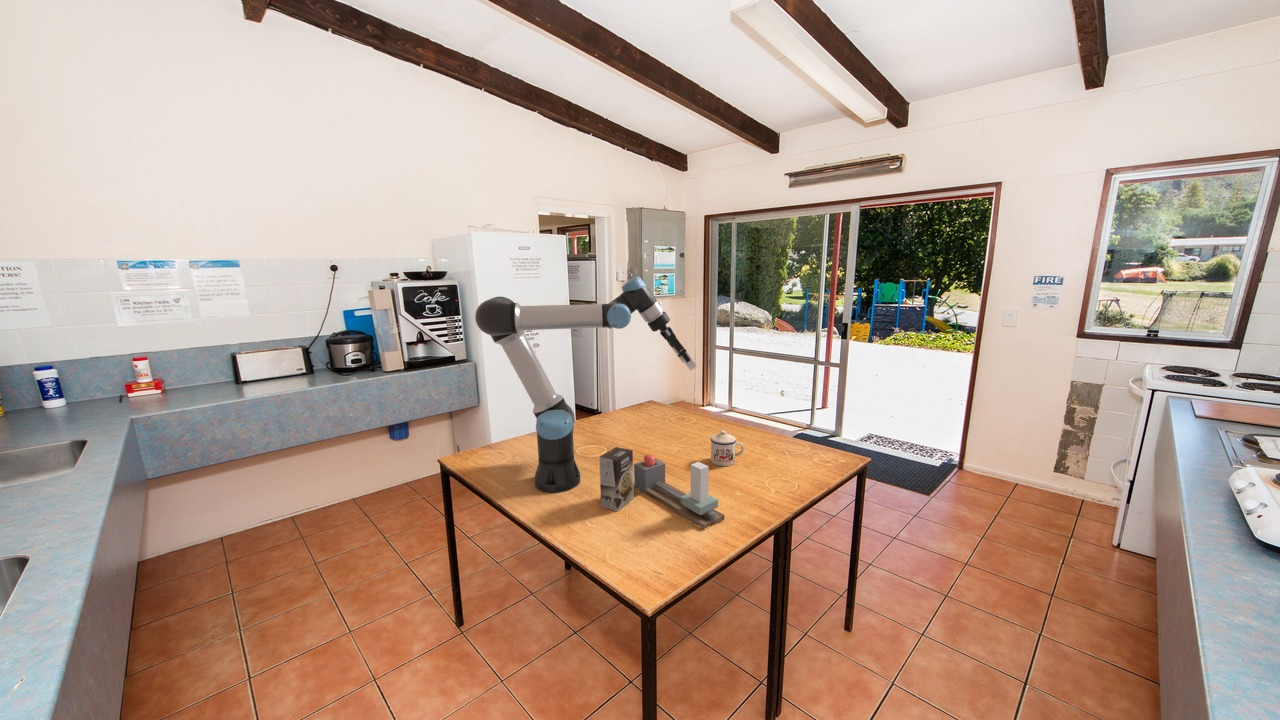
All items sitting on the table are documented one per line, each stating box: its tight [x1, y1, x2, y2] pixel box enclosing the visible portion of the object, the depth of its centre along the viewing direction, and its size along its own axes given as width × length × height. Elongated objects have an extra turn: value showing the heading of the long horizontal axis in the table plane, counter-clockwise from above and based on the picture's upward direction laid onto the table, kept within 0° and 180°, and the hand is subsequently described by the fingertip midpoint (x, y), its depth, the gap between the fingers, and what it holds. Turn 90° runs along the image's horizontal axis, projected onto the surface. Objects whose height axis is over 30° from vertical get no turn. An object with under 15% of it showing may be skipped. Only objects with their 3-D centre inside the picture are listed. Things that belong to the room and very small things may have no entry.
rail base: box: [645, 481, 725, 530], centre depth 139 cm, size 8×26×3 cm, turn 37°
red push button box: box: [633, 458, 666, 495], centre depth 151 cm, size 8×6×8 cm
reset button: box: [643, 453, 656, 468], centre depth 150 cm, size 3×3×5 cm
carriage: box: [681, 461, 719, 515], centre depth 132 cm, size 7×8×12 cm
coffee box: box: [599, 446, 634, 512], centre depth 140 cm, size 9×6×16 cm
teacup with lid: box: [710, 430, 745, 467], centre depth 169 cm, size 12×9×12 cm
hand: (689, 364), depth 168 cm, fingers open, 13 cm apart
